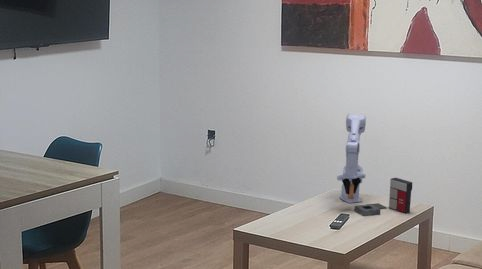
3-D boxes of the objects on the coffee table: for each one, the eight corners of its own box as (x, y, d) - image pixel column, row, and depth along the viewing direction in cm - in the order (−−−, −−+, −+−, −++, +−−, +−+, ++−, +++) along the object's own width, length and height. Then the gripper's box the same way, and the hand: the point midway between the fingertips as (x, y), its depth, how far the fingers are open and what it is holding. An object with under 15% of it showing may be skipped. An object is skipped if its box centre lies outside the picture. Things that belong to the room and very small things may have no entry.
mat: (365, 205, 384) (365, 204, 383) (378, 204, 386) (378, 203, 386) (373, 209, 377) (373, 208, 377) (386, 208, 379) (386, 207, 379)
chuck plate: (354, 210, 375) (354, 205, 374) (370, 209, 378) (370, 204, 377) (363, 216, 366) (364, 211, 366) (380, 214, 370) (380, 209, 369)
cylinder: (346, 197, 377) (346, 183, 376) (351, 197, 378) (352, 183, 377) (349, 199, 375) (349, 185, 373) (354, 198, 376) (355, 184, 374)
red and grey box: (387, 208, 380) (389, 178, 377) (393, 206, 382) (395, 177, 379) (404, 213, 371) (406, 183, 368) (410, 212, 374) (412, 182, 371)
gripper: (342, 169, 367) (341, 196, 370) (369, 167, 372) (367, 194, 375) (335, 165, 373) (334, 193, 376) (361, 163, 379) (360, 190, 381)
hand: (350, 193), depth 376 cm, fingers closed on cylinder, 3 cm apart
